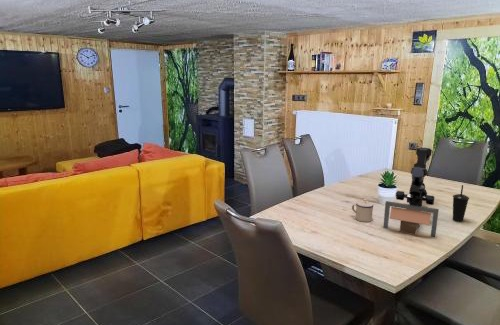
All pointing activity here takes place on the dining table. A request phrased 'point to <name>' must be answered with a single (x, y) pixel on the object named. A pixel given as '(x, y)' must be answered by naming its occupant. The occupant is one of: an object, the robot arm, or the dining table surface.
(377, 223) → the dining table surface
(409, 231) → the block
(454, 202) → the drinking cup
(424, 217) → the flap door
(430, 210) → the gate frame
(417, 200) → the robot arm
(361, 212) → the teacup with lid
